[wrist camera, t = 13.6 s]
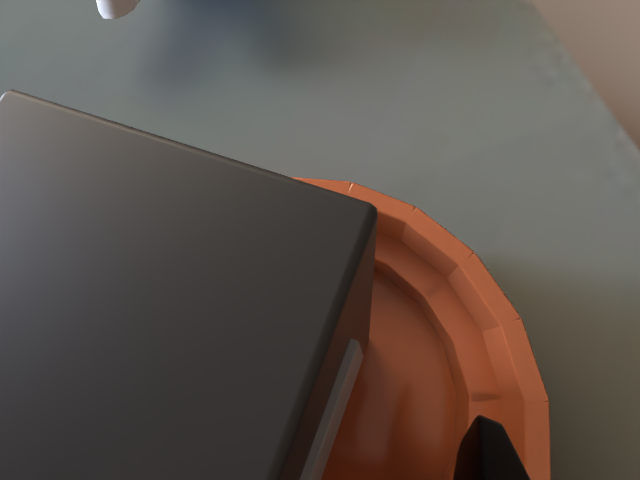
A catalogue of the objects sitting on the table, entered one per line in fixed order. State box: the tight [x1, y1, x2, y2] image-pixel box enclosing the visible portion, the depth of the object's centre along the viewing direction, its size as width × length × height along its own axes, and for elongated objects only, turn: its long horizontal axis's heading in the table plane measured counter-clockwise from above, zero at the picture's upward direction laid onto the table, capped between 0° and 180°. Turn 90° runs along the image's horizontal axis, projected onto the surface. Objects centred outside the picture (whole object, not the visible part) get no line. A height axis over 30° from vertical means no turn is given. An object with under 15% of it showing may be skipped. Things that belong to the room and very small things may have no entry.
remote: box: [0, 90, 378, 480], centre depth 8 cm, size 3×6×13 cm, turn 158°
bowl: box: [291, 177, 551, 480], centre depth 13 cm, size 13×13×4 cm
